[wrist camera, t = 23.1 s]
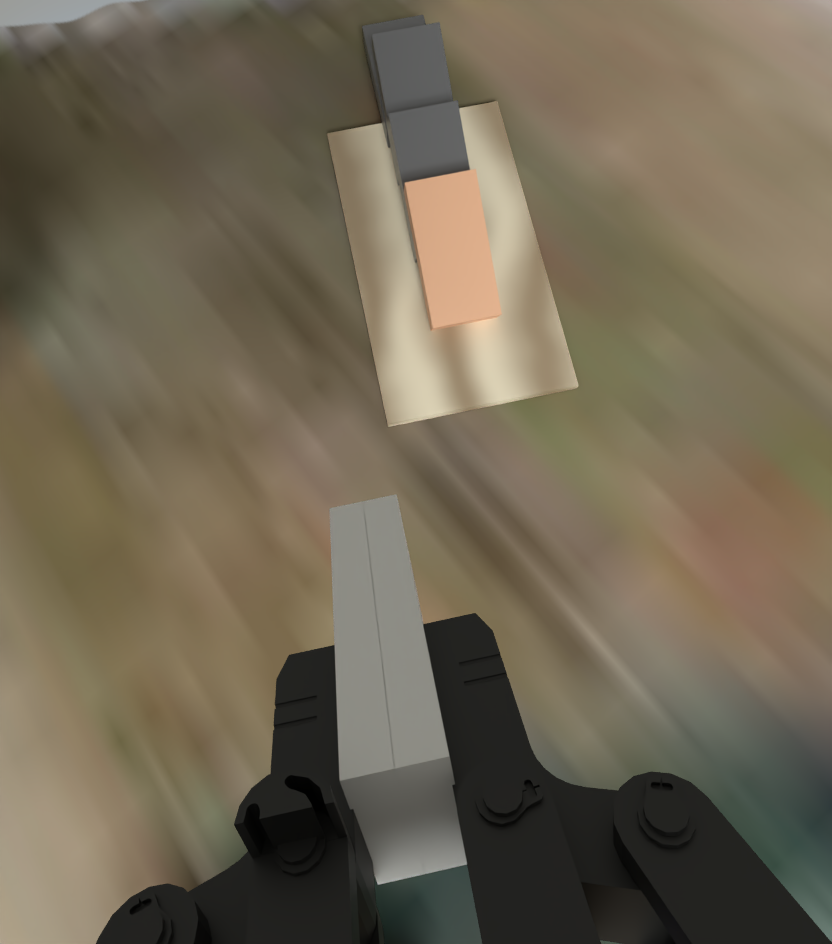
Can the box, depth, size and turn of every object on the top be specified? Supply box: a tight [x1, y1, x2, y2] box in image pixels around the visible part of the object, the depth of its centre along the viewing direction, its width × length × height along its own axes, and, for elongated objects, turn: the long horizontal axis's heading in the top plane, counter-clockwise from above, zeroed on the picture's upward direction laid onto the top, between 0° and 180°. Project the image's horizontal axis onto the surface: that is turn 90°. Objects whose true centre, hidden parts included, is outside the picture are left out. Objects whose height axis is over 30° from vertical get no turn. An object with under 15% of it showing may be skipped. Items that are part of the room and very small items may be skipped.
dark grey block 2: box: [388, 100, 470, 263], centre depth 48 cm, size 2×5×10 cm
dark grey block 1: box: [362, 15, 426, 148], centre depth 52 cm, size 2×5×10 cm
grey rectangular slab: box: [372, 22, 453, 186], centre depth 49 cm, size 2×5×10 cm
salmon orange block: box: [404, 169, 502, 331], centre depth 46 cm, size 2×5×10 cm
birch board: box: [327, 101, 578, 427], centre depth 50 cm, size 14×25×1 cm, turn 12°
